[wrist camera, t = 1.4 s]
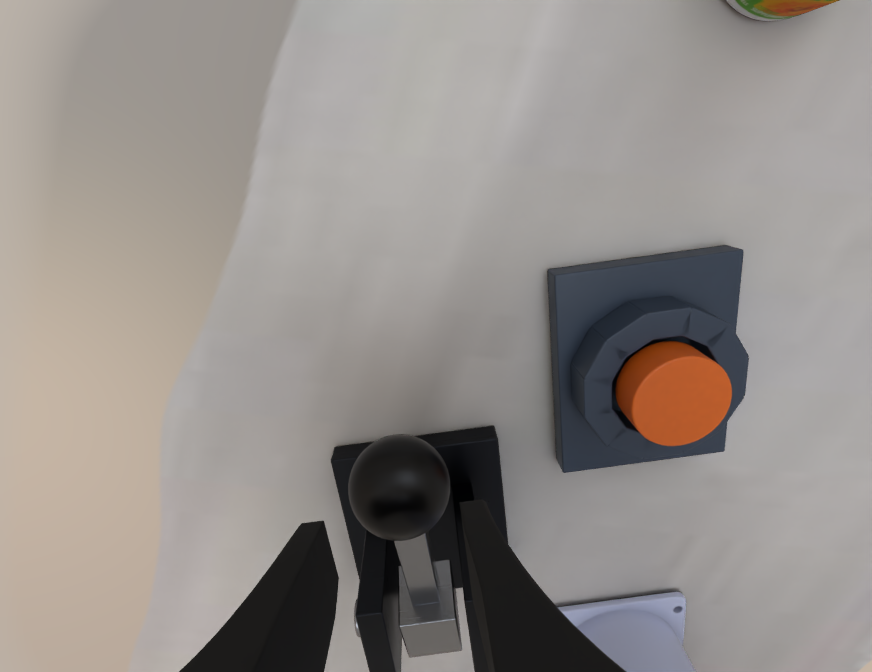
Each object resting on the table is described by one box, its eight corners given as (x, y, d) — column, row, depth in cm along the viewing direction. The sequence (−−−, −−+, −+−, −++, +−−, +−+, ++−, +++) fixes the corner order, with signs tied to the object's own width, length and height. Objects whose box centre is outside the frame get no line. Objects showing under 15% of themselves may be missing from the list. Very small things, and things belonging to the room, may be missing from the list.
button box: (710, 438, 25) (749, 474, 22) (556, 459, 25) (574, 497, 22) (727, 244, 21) (774, 257, 18) (547, 269, 21) (567, 285, 19)
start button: (704, 418, 21) (728, 440, 20) (614, 430, 21) (631, 453, 20) (710, 334, 20) (737, 349, 18) (614, 347, 20) (632, 363, 18)
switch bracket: (334, 446, 24) (299, 573, 17) (494, 425, 24) (529, 542, 17) (366, 582, 27) (348, 739, 20) (507, 563, 27) (542, 714, 20)
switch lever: (342, 420, 16) (332, 505, 13) (440, 407, 16) (450, 489, 13) (396, 591, 22) (397, 670, 19) (466, 581, 22) (475, 660, 19)
